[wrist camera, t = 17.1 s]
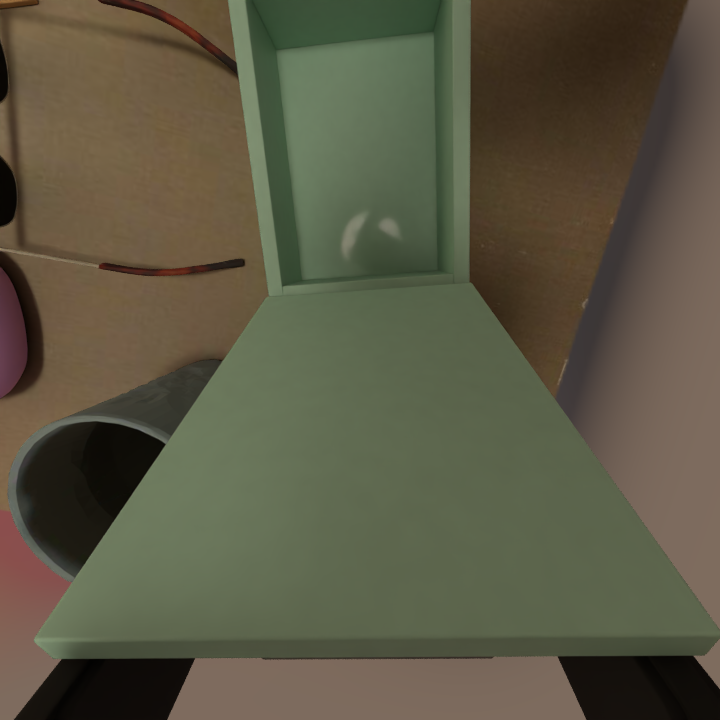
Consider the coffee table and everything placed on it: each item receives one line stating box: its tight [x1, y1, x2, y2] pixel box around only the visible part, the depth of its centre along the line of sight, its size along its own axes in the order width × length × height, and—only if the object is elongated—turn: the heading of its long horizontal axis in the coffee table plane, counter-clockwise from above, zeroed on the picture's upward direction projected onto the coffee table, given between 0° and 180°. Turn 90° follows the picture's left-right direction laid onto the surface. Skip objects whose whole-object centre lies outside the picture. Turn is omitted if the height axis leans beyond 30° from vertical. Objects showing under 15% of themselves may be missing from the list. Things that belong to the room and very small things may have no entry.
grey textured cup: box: [8, 359, 223, 582], centre depth 23 cm, size 10×10×12 cm
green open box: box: [228, 0, 471, 297], centre depth 20 cm, size 15×11×6 cm
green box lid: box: [34, 283, 720, 660], centre depth 14 cm, size 15×11×6 cm
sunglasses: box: [0, 0, 243, 276], centre depth 22 cm, size 14×16×5 cm
